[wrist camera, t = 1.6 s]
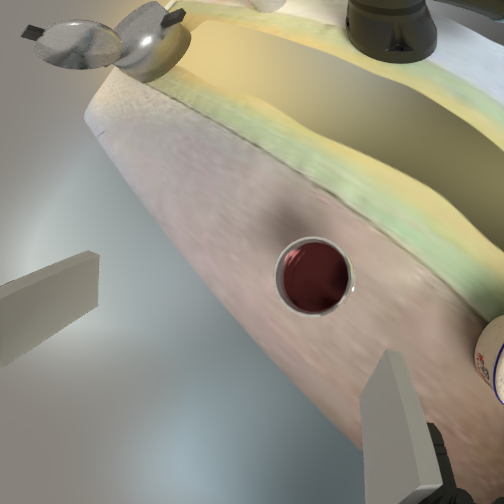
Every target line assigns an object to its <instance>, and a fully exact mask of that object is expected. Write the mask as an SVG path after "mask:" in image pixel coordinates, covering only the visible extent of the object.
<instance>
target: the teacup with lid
mask: <svg viewBox="0 0 504 504" xmlns="http://www.w3.org/2000/svg"><path fill="white" fill-rule="evenodd" d="M475 366H476V369H477V372H478V374H479V375H480V377H481V378H482V379H483V380H484V381H485V382H486V383H487V384H488V385H489V386H490V387H491V388H492V390H493V391H494V392H495V394H496V396H497V398H498V400H499V401H500V402H501V403H502V404H503V405H504V315H501V316H499V317H497V318H495V319H494V320H492V321H491V322H490V323H489V324H488V325H487V326H486V327H485V329H484V330H483V331H482V333H481V335H480V337H479V339H478V342H477V345H476V349H475Z"/></svg>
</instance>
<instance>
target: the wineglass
mask: <svg viewBox="0 0 504 504" xmlns="http://www.w3.org/2000/svg"><path fill="white" fill-rule="evenodd" d="M273 275H274V287H275V290H276V292H277V295H278V298H279V299H280V300H281V302H282V303H283V304H284V305H285V307H286V308H288V309H289V310H291V311H292V312H294V313H295V314H298V315H301V316H305V317H320V316H323V315H327V314H329V313H332V312H334V311H336V310H338V309H339V308H340V307H341V306H342V305H343V304H345V303H346V301H347V299H348V298H349V296H350V295H351V293H352V291H353V289H354V287H355V283H356V274H355V272H354V267H353V264H352V262H351V259H350V257H349V255H348V254H347V253H346V252H345V251H344V250H343V249H342V248H341V247H340V246H338V245H337V244H335V243H333V242H332V241H330V240H328V239H326V238H321V237H316V236H311V237H304V238H300V239H298V240H296V241H294V242H292V243H291V244H290V245H288V246H287V247H286V248H285V249H284V250H283V251H282V253H281V254H280V256H279V258H278V260H277V262H276V265H275V269H274V274H273Z"/></svg>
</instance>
